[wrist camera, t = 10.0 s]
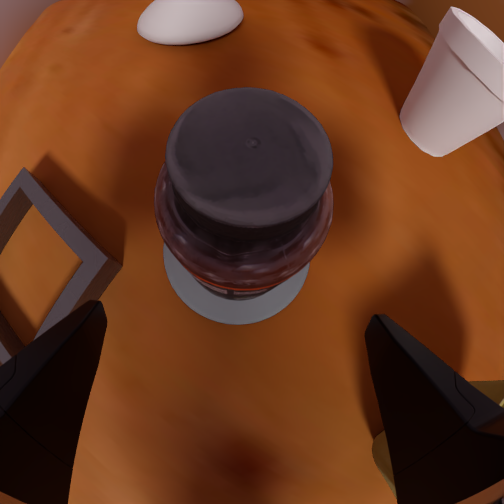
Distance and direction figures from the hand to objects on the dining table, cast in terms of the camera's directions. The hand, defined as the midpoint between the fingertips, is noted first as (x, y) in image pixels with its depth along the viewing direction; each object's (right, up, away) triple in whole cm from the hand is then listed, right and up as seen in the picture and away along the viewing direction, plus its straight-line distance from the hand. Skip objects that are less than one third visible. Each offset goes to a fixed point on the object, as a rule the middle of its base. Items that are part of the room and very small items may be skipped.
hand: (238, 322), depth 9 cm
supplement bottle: (-1, +2, +9) cm, 9 cm away
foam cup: (+18, +14, +14) cm, 26 cm away
